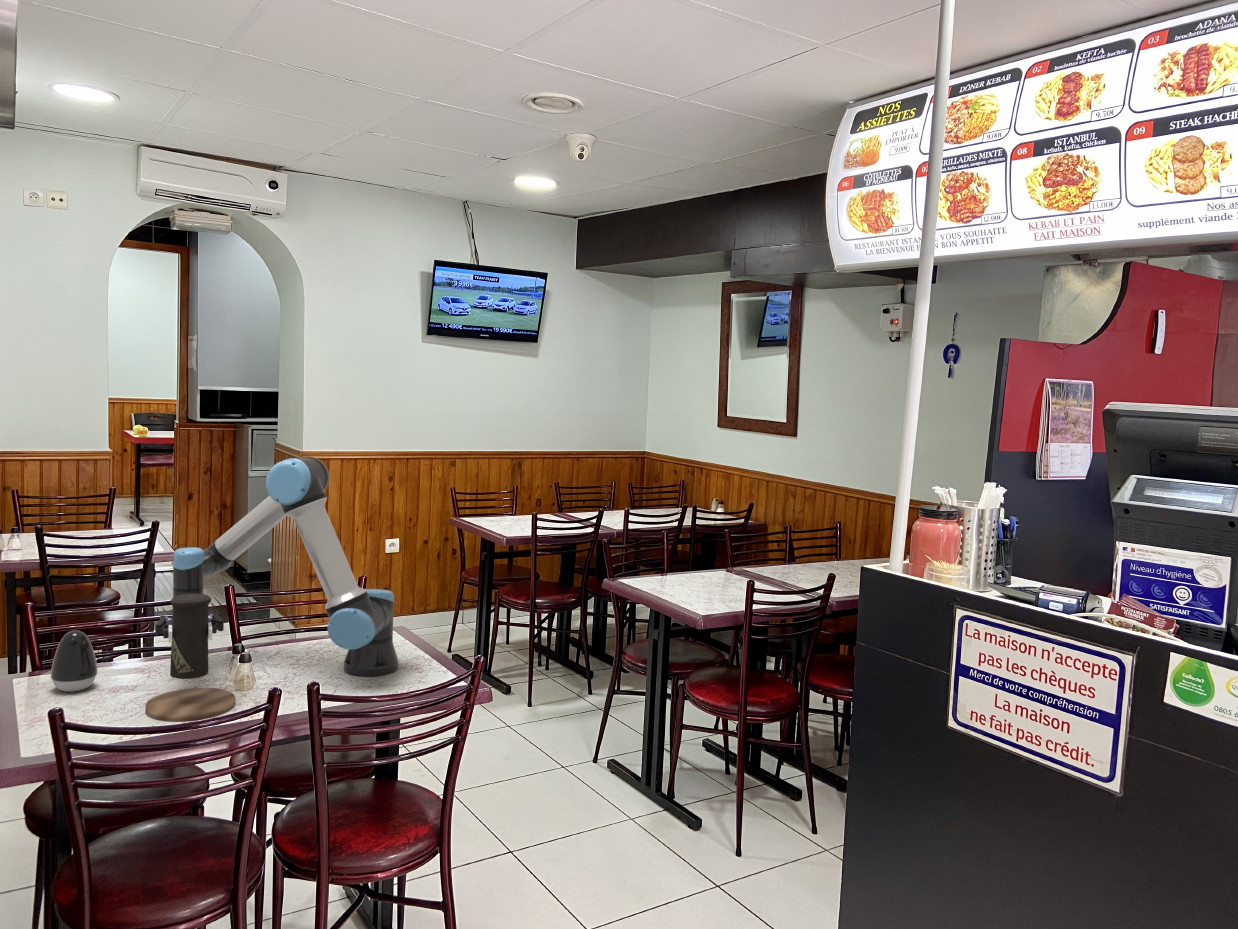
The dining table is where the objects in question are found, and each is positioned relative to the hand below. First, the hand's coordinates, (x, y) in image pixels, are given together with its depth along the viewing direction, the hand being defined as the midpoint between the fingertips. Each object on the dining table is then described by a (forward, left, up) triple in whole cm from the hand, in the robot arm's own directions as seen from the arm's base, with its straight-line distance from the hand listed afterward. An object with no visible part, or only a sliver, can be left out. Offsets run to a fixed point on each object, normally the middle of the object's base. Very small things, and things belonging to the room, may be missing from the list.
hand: (190, 635), depth 214 cm
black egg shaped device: (+37, -7, -19) cm, 42 cm away
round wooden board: (+2, -3, -19) cm, 19 cm away
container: (+3, -4, -11) cm, 12 cm away
